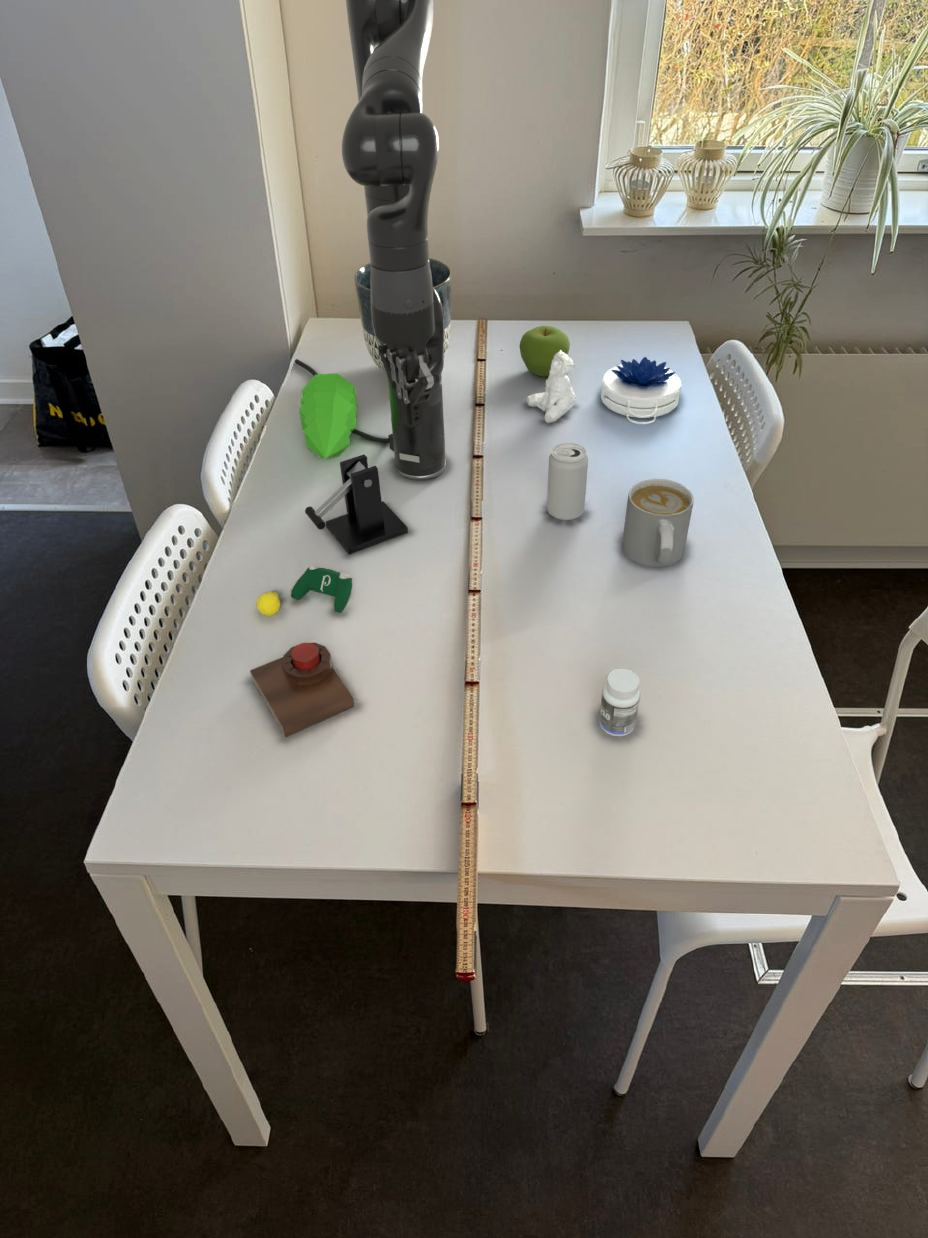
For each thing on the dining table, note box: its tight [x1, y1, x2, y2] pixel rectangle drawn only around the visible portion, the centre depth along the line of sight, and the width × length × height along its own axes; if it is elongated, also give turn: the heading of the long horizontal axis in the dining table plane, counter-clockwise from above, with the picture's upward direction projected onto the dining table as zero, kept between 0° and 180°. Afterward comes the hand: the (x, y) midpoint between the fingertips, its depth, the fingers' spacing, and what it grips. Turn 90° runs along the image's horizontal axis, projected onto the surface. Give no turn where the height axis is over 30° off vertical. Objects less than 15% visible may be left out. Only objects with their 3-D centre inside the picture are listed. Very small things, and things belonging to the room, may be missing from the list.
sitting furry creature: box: [526, 350, 577, 424], centre depth 169 cm, size 10×9×12 cm
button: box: [291, 642, 320, 670], centre depth 117 cm, size 4×4×2 cm
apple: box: [519, 325, 571, 378], centre depth 182 cm, size 11×10×10 cm
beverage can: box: [546, 442, 589, 521], centre depth 143 cm, size 6×6×12 cm
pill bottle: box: [598, 668, 641, 737], centre depth 110 cm, size 5×5×8 cm
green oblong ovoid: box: [298, 372, 358, 460], centre depth 162 cm, size 11×12×30 cm
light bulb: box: [256, 589, 281, 617], centre depth 130 cm, size 3×6×4 cm, turn 175°
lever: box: [304, 462, 366, 530], centre depth 138 cm, size 12×5×2 cm
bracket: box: [325, 454, 409, 555], centre depth 141 cm, size 11×9×13 cm
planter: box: [353, 257, 453, 374], centre depth 179 cm, size 20×20×21 cm
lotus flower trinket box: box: [600, 356, 682, 425], centre depth 172 cm, size 7×16×20 cm
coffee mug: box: [621, 478, 694, 568], centre depth 135 cm, size 13×10×10 cm
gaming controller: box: [290, 563, 353, 614], centre depth 132 cm, size 9×4×6 cm
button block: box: [249, 642, 355, 738], centre depth 117 cm, size 12×10×4 cm
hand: (412, 423), depth 117 cm, fingers closed
